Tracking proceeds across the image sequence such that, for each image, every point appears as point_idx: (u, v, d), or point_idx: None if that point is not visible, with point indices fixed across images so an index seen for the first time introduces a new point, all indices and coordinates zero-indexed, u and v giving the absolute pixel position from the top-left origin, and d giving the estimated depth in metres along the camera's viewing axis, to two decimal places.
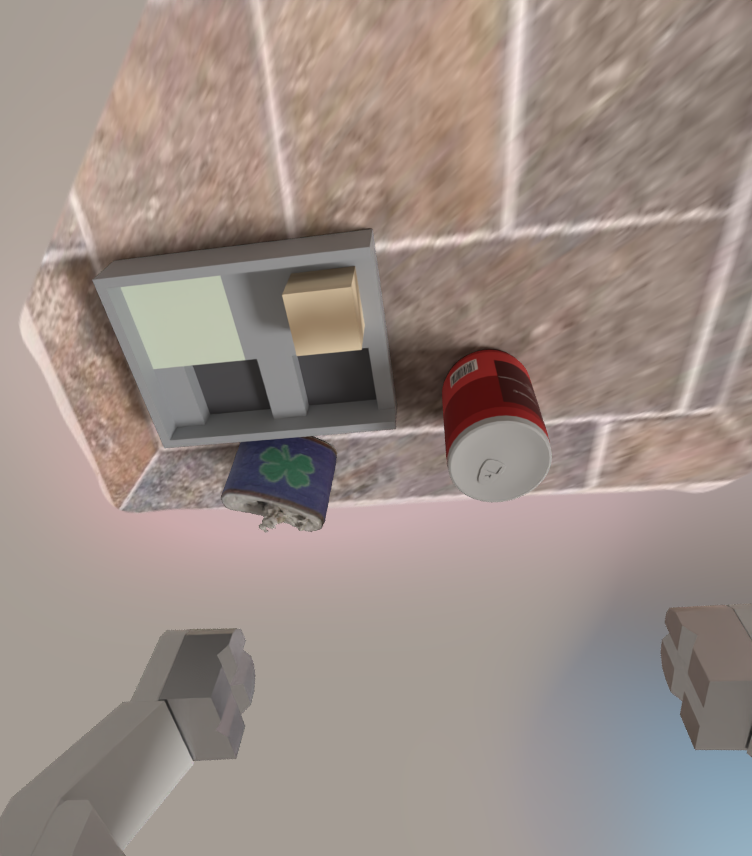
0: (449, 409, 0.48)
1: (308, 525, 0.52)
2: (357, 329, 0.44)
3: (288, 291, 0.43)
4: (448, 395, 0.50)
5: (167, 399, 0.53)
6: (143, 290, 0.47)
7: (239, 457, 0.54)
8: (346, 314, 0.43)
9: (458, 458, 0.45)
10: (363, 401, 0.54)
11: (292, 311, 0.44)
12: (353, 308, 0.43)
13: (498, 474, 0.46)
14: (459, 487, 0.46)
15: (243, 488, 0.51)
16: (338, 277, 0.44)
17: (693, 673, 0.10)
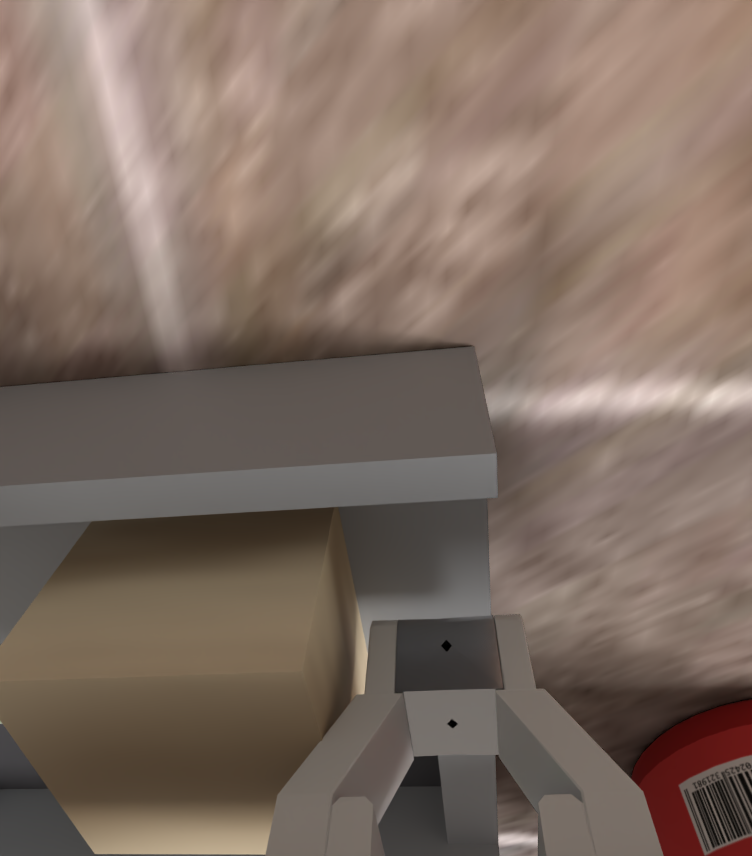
0: None
1: None
2: None
3: (14, 654, 0.09)
4: None
5: None
6: None
7: None
8: (287, 757, 0.09)
9: None
10: (400, 792, 0.20)
11: (39, 737, 0.10)
12: (316, 742, 0.09)
13: None
14: None
15: None
16: (257, 570, 0.10)
17: None
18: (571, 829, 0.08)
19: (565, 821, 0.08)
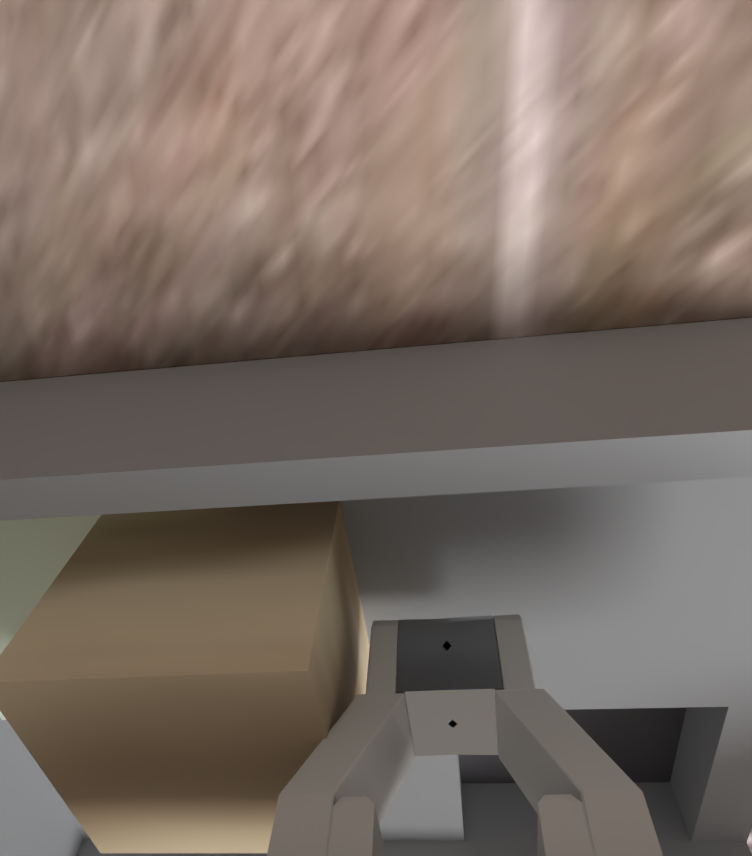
0: None
1: None
2: None
3: (21, 655, 0.09)
4: None
5: None
6: None
7: None
8: (292, 756, 0.09)
9: None
10: None
11: (46, 737, 0.10)
12: None
13: None
14: None
15: None
16: (261, 569, 0.10)
17: None
18: (571, 829, 0.08)
19: (565, 821, 0.08)
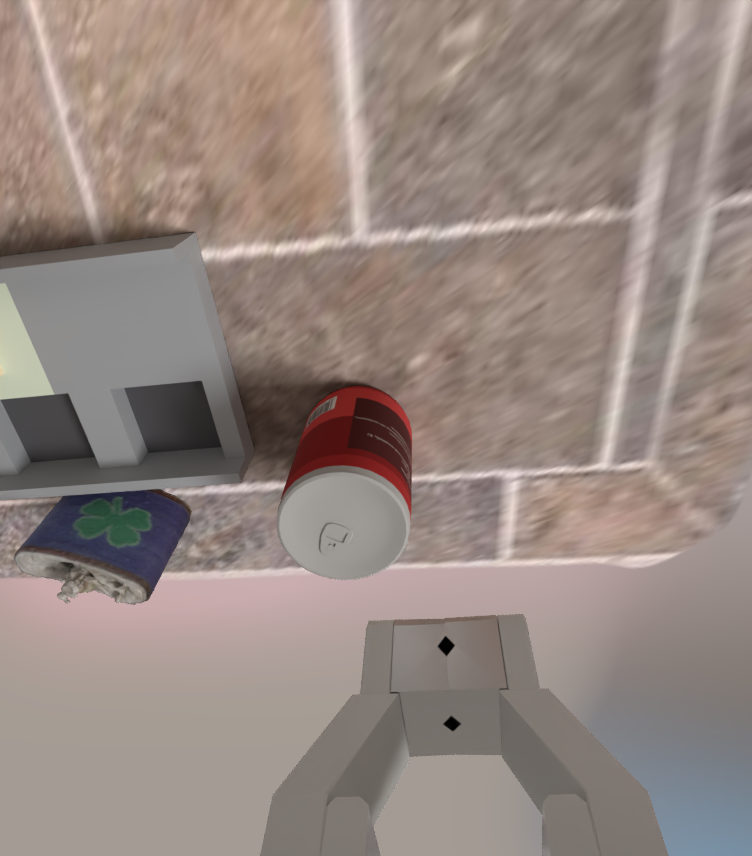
0: (294, 458, 0.38)
1: (129, 595, 0.41)
2: None
3: None
4: (300, 441, 0.39)
5: None
6: None
7: (54, 509, 0.43)
8: None
9: (289, 521, 0.34)
10: (211, 449, 0.44)
11: None
12: None
13: (344, 543, 0.35)
14: (296, 559, 0.35)
15: (42, 544, 0.40)
16: None
17: None
18: (576, 829, 0.08)
19: (570, 821, 0.08)
